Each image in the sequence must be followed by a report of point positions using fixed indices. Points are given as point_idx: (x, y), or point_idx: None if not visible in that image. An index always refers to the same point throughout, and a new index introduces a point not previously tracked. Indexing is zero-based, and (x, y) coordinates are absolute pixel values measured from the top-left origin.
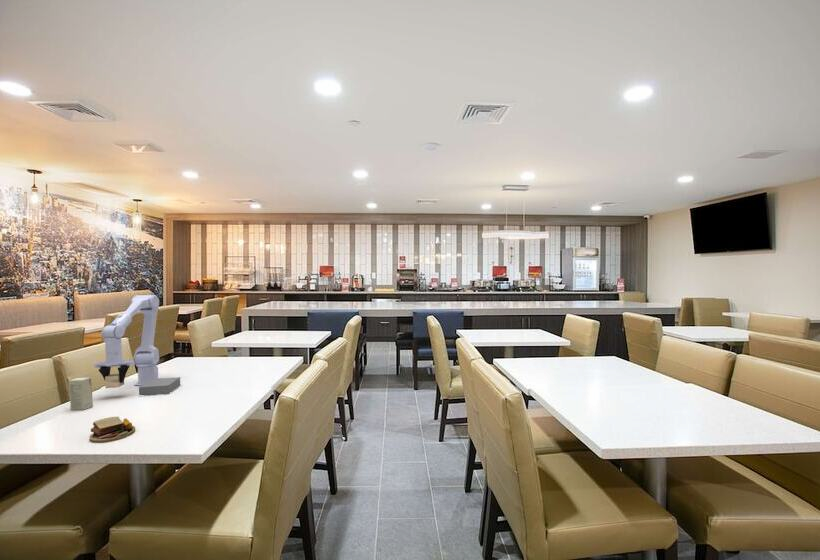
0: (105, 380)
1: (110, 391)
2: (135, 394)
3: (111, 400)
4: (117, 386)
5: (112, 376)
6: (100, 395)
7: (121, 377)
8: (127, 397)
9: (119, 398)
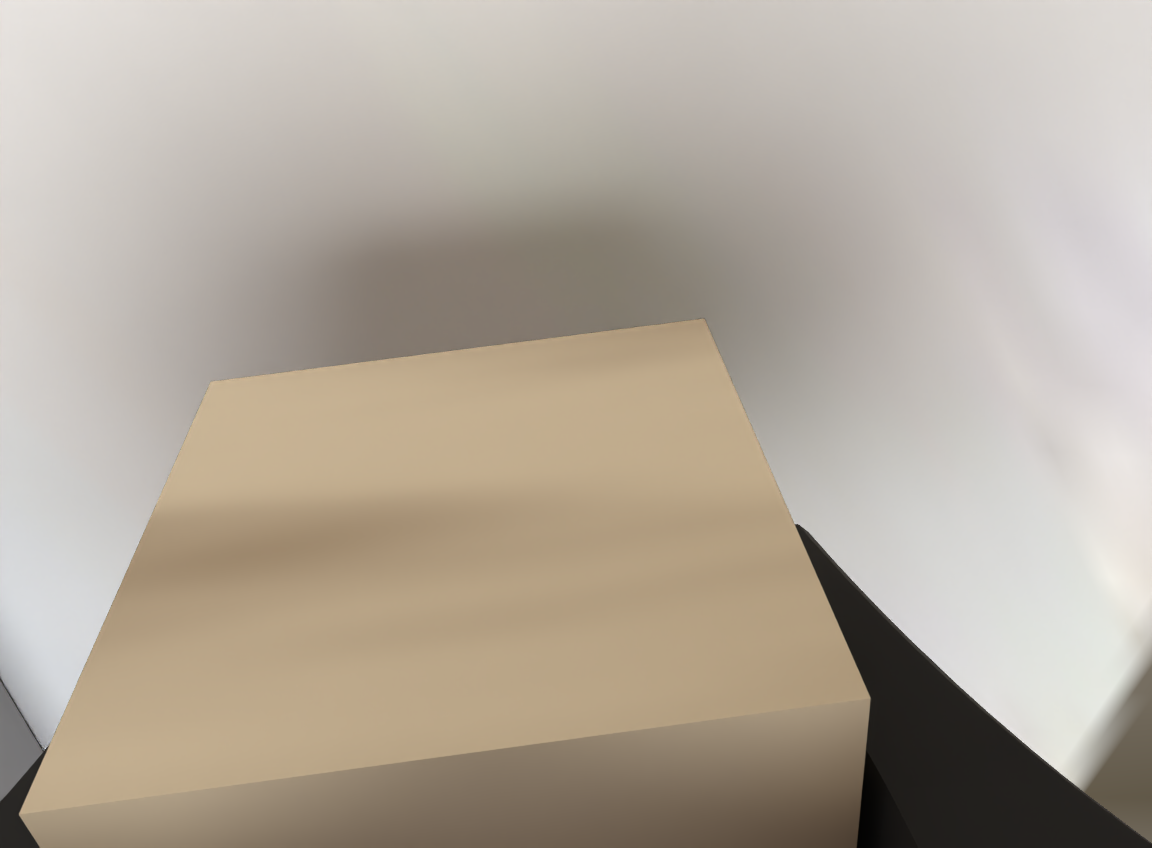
0: (780, 532)
1: None
2: (88, 507)
3: (376, 25)
4: (228, 396)
5: (386, 764)
6: (968, 496)
7: (5, 806)
8: (85, 279)
9: (266, 208)
